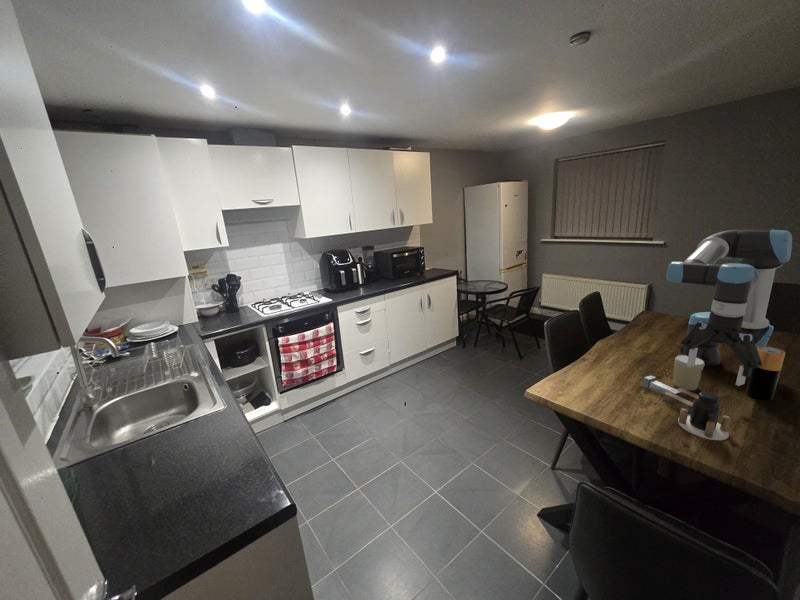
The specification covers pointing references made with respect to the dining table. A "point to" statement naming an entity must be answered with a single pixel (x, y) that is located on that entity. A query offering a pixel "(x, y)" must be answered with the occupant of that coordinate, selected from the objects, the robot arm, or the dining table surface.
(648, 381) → the pin
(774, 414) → the dining table surface
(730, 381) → the dining table surface
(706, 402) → the supplement bottle
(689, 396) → the slot block
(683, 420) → the peg rack
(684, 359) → the coffee cup
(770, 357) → the battery
